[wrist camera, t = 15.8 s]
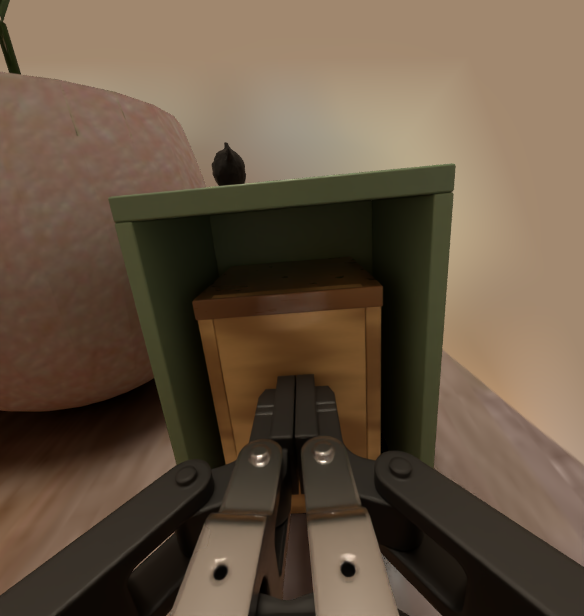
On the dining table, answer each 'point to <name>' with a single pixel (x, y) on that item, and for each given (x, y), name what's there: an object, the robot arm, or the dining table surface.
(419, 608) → the dining table surface
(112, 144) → the plant pot
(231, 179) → the figurine
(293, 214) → the cubby shelf
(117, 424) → the dining table surface
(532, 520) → the dining table surface
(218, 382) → the lidded wooden box
